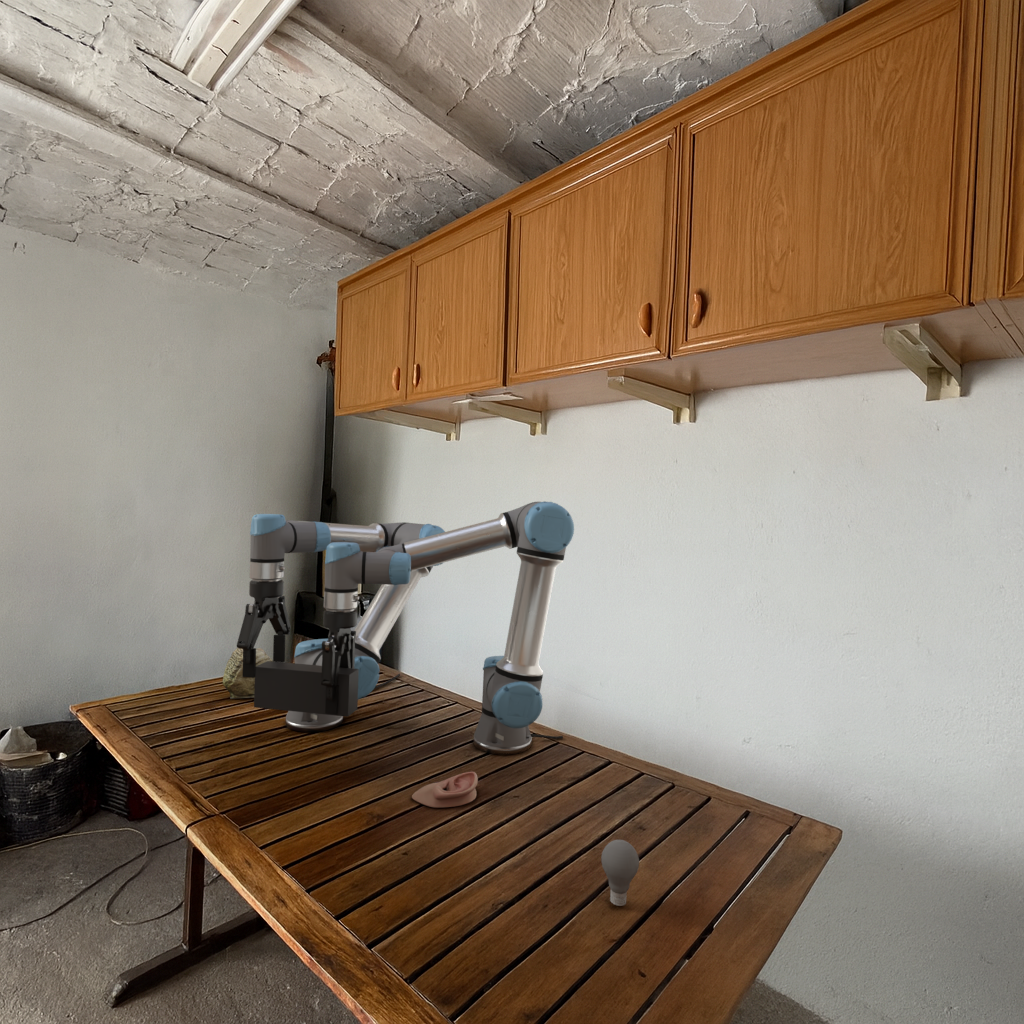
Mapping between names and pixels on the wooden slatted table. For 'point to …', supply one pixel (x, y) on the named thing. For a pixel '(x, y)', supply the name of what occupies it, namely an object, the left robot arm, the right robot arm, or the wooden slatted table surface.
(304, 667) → the bar
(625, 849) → the light bulb
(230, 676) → the fossil
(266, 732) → the wooden slatted table surface
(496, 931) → the wooden slatted table surface
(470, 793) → the anatomical model
